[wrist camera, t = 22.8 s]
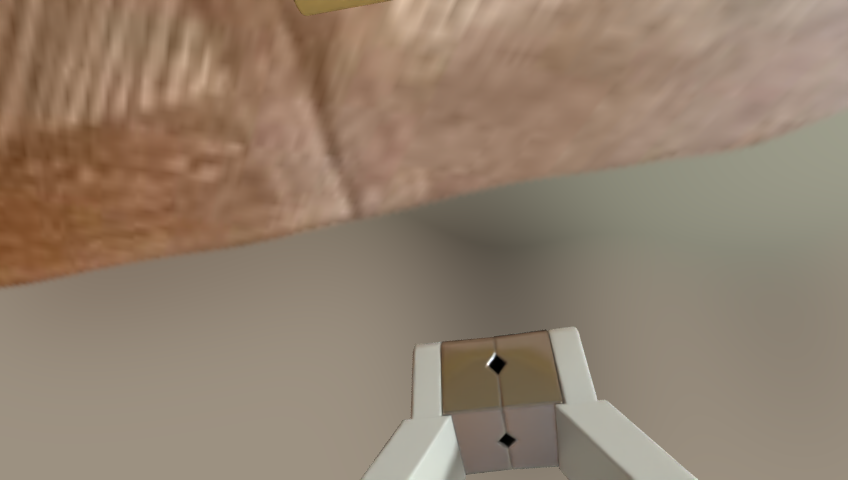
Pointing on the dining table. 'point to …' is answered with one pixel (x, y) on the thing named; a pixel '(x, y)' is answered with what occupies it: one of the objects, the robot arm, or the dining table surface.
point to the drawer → (330, 5)
